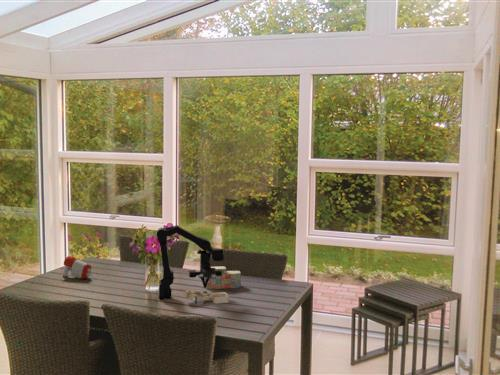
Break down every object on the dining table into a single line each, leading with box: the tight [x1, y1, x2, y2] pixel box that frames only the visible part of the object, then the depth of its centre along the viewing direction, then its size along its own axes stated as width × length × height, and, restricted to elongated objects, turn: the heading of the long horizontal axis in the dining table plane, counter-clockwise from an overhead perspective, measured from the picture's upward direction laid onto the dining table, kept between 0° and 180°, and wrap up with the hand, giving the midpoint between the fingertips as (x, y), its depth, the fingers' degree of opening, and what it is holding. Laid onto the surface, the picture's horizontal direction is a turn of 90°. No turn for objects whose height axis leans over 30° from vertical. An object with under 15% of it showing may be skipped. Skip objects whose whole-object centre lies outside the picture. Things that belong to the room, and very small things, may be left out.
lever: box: [184, 288, 212, 302], centre depth 290 cm, size 14×14×3 cm
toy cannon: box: [62, 256, 92, 281], centre depth 327 cm, size 6×20×14 cm, turn 69°
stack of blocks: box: [205, 265, 242, 290], centre depth 316 cm, size 21×6×12 cm, turn 99°
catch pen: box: [210, 291, 230, 305], centre depth 290 cm, size 9×9×3 cm
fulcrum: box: [191, 296, 205, 306], centre depth 287 cm, size 5×9×4 cm, turn 16°
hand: (204, 287), depth 296 cm, fingers closed
